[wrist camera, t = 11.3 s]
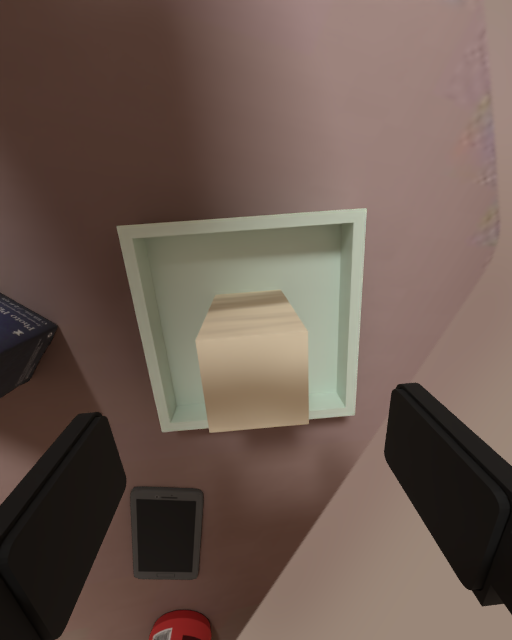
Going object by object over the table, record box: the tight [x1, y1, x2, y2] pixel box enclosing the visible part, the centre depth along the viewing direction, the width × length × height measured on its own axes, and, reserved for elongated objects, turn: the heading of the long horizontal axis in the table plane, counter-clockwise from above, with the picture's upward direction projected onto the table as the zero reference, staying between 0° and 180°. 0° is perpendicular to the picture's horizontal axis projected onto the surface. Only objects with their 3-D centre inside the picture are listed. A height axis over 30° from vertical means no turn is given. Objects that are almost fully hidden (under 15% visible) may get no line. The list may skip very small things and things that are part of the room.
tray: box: [116, 208, 367, 432], centre depth 20 cm, size 16×16×3 cm
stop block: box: [195, 290, 309, 433], centre depth 17 cm, size 5×5×9 cm
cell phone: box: [130, 486, 203, 580], centre depth 29 cm, size 7×14×1 cm, turn 174°
